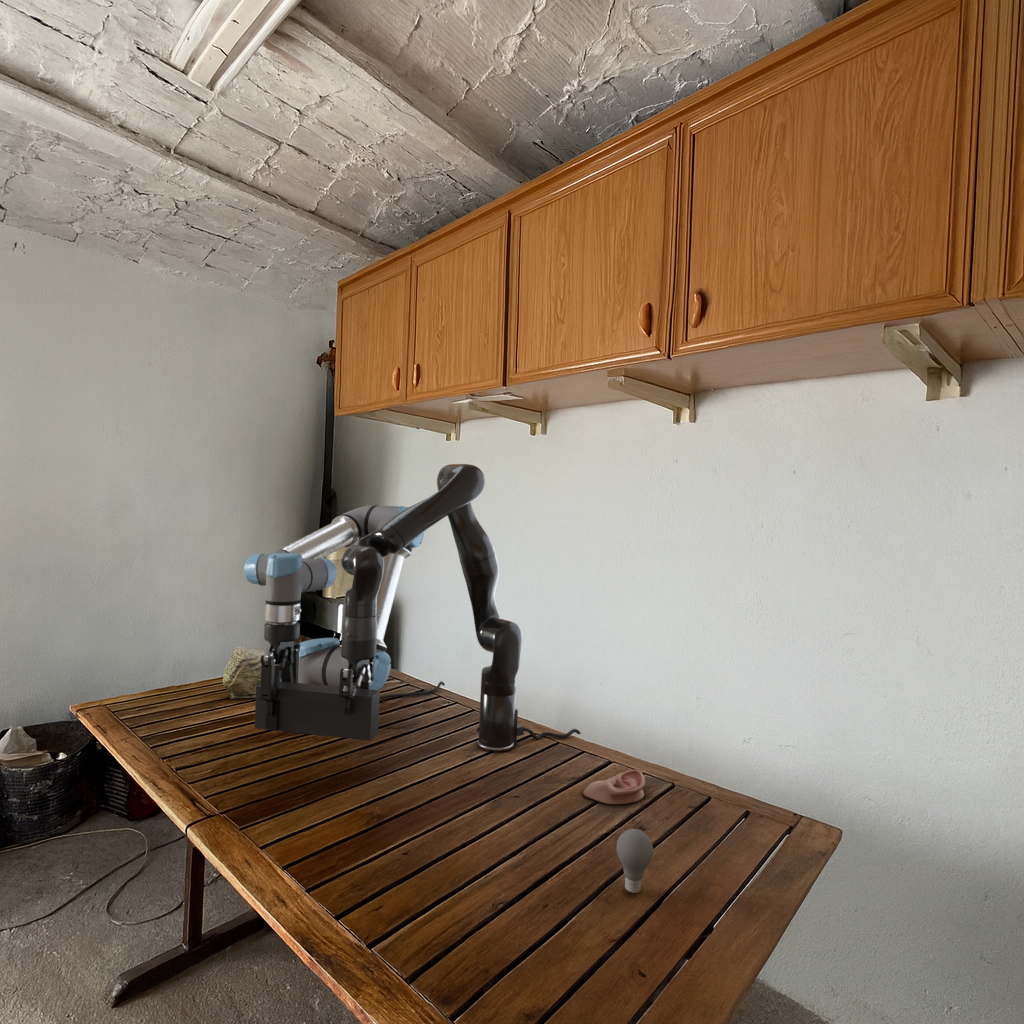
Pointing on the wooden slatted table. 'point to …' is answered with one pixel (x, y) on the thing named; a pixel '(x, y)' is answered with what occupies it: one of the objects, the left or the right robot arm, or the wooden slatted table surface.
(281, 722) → the bar
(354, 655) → the right robot arm
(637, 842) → the light bulb
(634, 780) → the anatomical model
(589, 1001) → the wooden slatted table surface
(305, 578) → the left robot arm
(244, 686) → the fossil
